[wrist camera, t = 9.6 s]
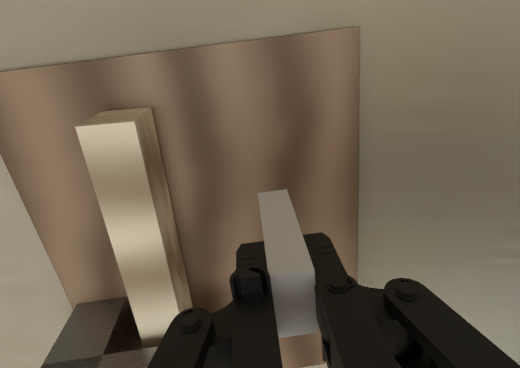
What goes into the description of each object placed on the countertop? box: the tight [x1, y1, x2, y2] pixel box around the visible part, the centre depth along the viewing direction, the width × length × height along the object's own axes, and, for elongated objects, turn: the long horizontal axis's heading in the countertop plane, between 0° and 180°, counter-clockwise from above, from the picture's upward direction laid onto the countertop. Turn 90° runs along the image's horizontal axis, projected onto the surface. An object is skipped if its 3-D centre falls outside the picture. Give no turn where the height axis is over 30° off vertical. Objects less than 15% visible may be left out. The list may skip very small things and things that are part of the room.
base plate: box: [0, 27, 360, 368], centre depth 26 cm, size 24×30×1 cm
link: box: [75, 107, 193, 349], centre depth 24 cm, size 24×5×4 cm, turn 4°
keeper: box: [41, 296, 158, 368], centre depth 25 cm, size 12×6×7 cm, turn 97°
